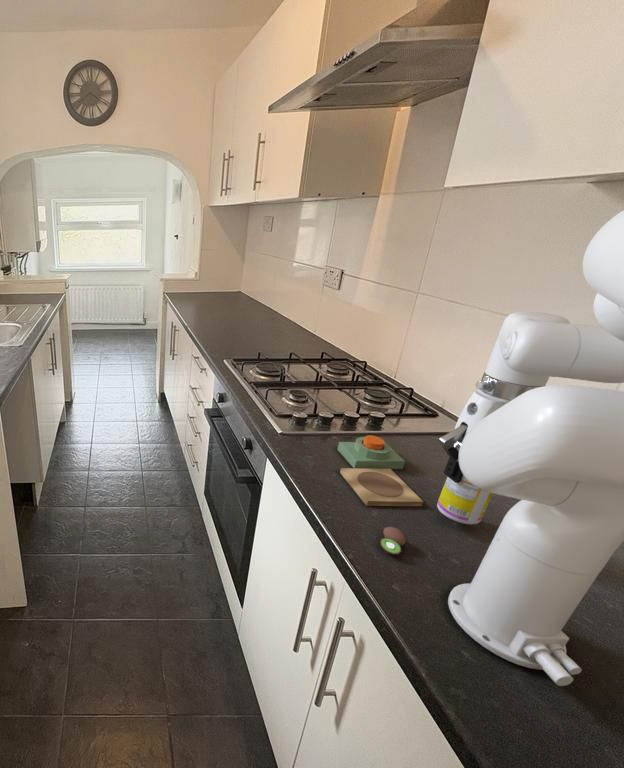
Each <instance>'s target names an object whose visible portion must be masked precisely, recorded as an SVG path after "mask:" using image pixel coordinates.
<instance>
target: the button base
mask: <svg viewBox="0 0 624 768" xmlns="http://www.w3.org/2000/svg"><path fill="white" fill-rule="evenodd" d="M364 438H365V436H360V437H357V438H356V439H355V441H339V442H338V445H337V451H338V452H339V453H340V455H341V456H343V458H344V459H345V460H346V461H347V462H348V464H350V466H351V468H360V469H391V470H403V469H404V467H405V463H406V461H405V459H404V458H403V457H402V456H400V455H399V454H398V453H397V452H396V451H395V450H394V449H392V448H391V445H389V444H388V443H386V442H385V443H384V446H383V449H382V450H374V449H370V448H368V447H366V446H364V445H363V441H364Z"/></svg>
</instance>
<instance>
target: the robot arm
mask: <svg viewBox="0 0 624 768" xmlns="http://www.w3.org/2000/svg"><path fill="white" fill-rule="evenodd" d="M581 264H582V266H581V267H582V274H583V276H584V279H585V281H586V282H587V284H588V285H589V287H590V288H592V290H594V291H595V292H596V294H595V297H594V300H593V305H592V309H593V315H594V317H595V320H596V321H597V322H598V324H599V325H591V324H578V323H571V321H570V320H569V319H567V318H566V317H564V316H560V315H557V314H552V313H546V312H538V311H515V312H512V313H510V314H508V315H507V316H506V317H505V319H504V321H503V323H502V325H501V328H500V330H499V333H498V336H497V339H496V341H495V344H494V346H493V349H492V351H491V354H490V356H489V359H488V361H487V364H486V367H485V370H484V372H483V375H482V377H481V379H480V380H478V381H477V382H476V383H475V386H476V389H477V390H474V391H473V392H472V394H471V395H470V396H469V398H468V400H467V402H466V403H465V405H464V407H463V408H462V411H461V412H460V415H459V416H458V418H457V421H456V424H455V426H454V429H453V430H451V431H449V432H447V433H446V434H444V435H443V436H441V437H440V438H439V439H438V441H439V443H440V445H441V446H442V447H443V450H444V451H445V452H446V454H447V455H448V456H449V458H448V460H447V463H446V465H445V468H444V471H443V474H444V475H445V476H446V477H447V476H448V477H449V478H450V479H451V480H453V481H454V482H455V483H460V482H461V479H462V477H463V475H464V476H465V478H466V479H467V480H468V481H469V482H470V483H471V484H473V485H474V486H475V487H477V488H479V489H481V490H484V491H486V492H490V493H493V495H499V496H502V497H508V498H513V499H518V500H519V501H517V502H516V503H515V504H514V505H513V506H512V507H511V508H510V509H508V511H507V512H506V514H505V515H504V517H503V518H502V520H501V523H500V525H499V527H498V528H497V530H496V532H495V534H494V536H493V538H492V540H491V542H490V544H489V546H488V548H487V550H486V552H485V554H484V556H483V558H482V560H481V562H480V564H479V566H478V568H477V571H476V572H475V575H474V576H473V578H472V580H471V582H470V583H468V582H467V583H461V584H458V585H456V586H455V587H453V588H452V589H451V591H450V593H449V595H448V597H447V605H448V609H449V611H450V614H451V616H452V617H453V619H454V620H455V622H456V623H457V624H458V625H459V626H460V628H461V629H462V630H463V631H464V632H465V634H467V635H468V636H469V637H470V638H471V639H473V640H474V641H475V642H477V643H478V644H479V645H481V647H483V648H485V649H486V650H487V651H489V652H490V653H493V654H494V655H495V656H497V657H500V658H502V659H504V660H506V661H508V662H510V663H513V664H515V665H517V666H521V667H524V668H528V669H533V670H540V671H544V673H545V674H546V675H547V676H548V677H549V678H550V680H552V682H554V683H555V685H556V686H558V687H564V686H569V685H570V684H572V683H573V682H574V677H572V676H576V675H579V674H580V673H582V671H583V670H582V668H581V667H580V666H579V665H578V664H577V663H576V662H575V661H574V659H572V658H571V657H569V656H568V654H567V646H566V645H567V643H568V642H569V641H570V637H569V636H567V634H566V633H565V632H564V631H563V628H564V627H565V625H566V624H567V622H568V621H569V619H571V617H572V615H573V613H574V612H575V610H576V609H577V608H578V606H579V604H580V603H581V601H583V598H584V597H585V595H586V594H587V593H588V591H589V590H590V588H591V586H592V585H593V583H594V582H595V581H596V579H597V577H598V576H599V574H600V573H601V572H602V571H603V570H604V568H605V566H606V565H607V564H608V562H609V561H610V559H611V558H612V556H613V554H615V552H616V551H617V550H618V548H619V547H620V546H621V545H622V543H623V542H624V390H618V389H611V388H603V387H595V386H594V387H593V386H584V385H573V384H551V385H547V383H548V381H549V379H550V377H552V378H562V379H571V380H578V381H579V380H580V381H585V382H586V381H587V382H595V383H602V384H624V209H623V210H622V211H620V212H619V213H616V214H615V215H614V216H613V217H611V218H610V219H609V220H607V222H606V223H605V224H603V226H602V227H600V228H599V229H598V230H597V232H596V233H595V235H594V236H593V237H592V239H591V240H590V242H589V243H588V245H587V247H586V249H585V252H584V255H583V259H582V263H581Z"/></svg>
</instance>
